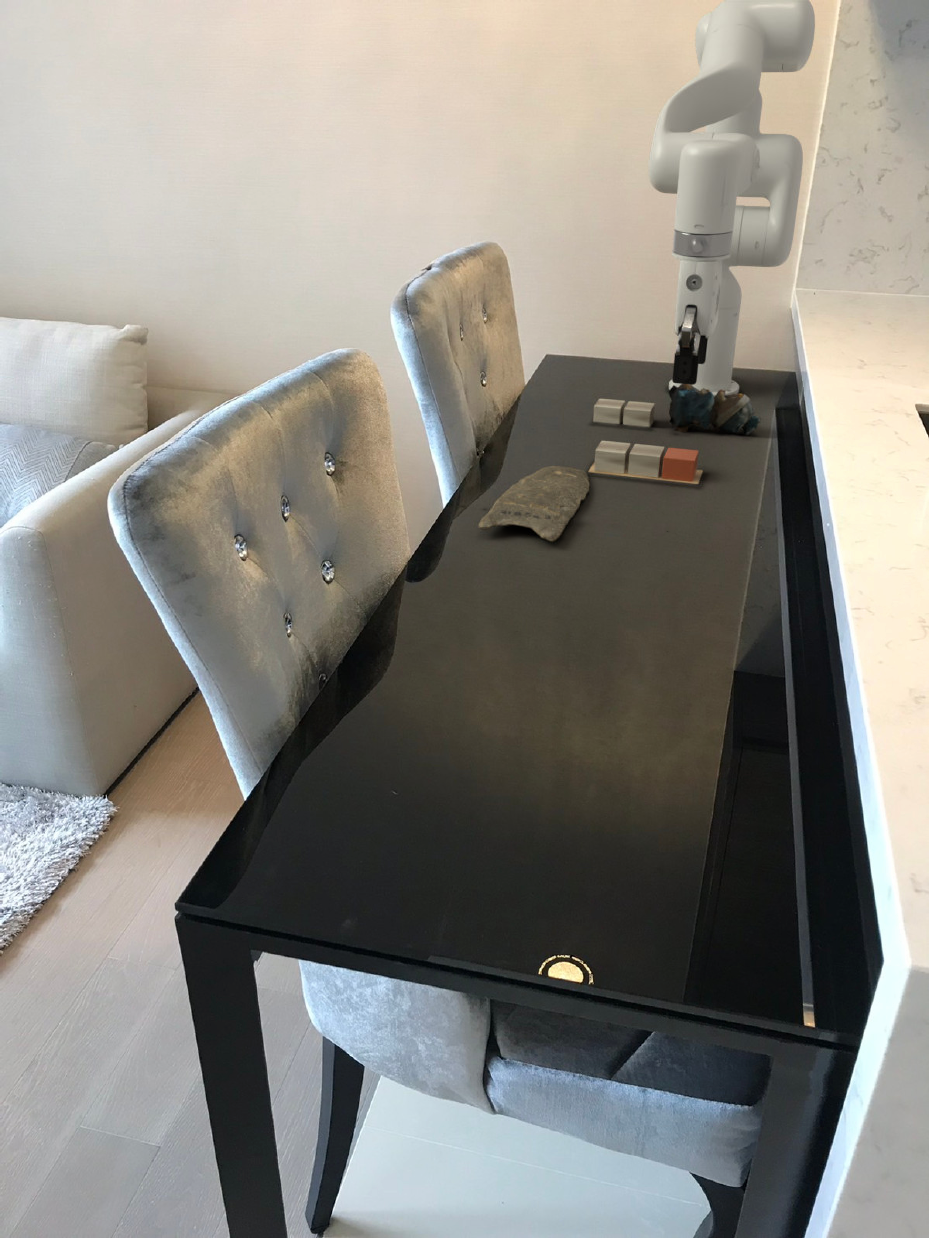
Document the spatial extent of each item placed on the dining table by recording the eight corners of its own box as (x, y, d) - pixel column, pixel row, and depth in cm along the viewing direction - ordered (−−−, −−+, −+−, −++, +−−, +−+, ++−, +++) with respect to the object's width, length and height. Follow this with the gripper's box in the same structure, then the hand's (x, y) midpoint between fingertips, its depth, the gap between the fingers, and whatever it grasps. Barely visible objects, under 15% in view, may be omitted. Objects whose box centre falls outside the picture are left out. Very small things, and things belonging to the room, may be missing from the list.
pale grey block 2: (627, 419, 169) (628, 401, 168) (653, 421, 168) (655, 403, 167) (622, 427, 166) (623, 408, 164) (649, 430, 165) (650, 411, 163)
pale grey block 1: (600, 460, 151) (601, 440, 149) (629, 463, 150) (630, 443, 148) (594, 470, 147) (595, 450, 146) (623, 474, 146) (625, 453, 144)
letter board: (595, 462, 152) (596, 458, 152) (702, 474, 147) (703, 470, 147) (587, 475, 147) (588, 471, 147) (697, 487, 143) (698, 483, 142)
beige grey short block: (598, 416, 171) (599, 398, 169) (624, 419, 170) (625, 400, 168) (593, 424, 167) (594, 406, 166) (619, 427, 166) (620, 408, 164)
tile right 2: (633, 464, 149) (634, 443, 148) (662, 467, 148) (664, 446, 147) (627, 474, 146) (629, 453, 144) (658, 477, 145) (660, 456, 143)
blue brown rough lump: (675, 382, 167) (767, 382, 161) (672, 433, 169) (763, 434, 163) (661, 382, 160) (756, 382, 153) (658, 434, 162) (753, 436, 155)
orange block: (666, 468, 148) (668, 447, 146) (696, 471, 147) (698, 450, 145) (661, 478, 144) (663, 457, 143) (692, 481, 143) (694, 460, 141)
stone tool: (558, 550, 125) (601, 480, 146) (558, 529, 124) (602, 461, 144) (475, 539, 128) (529, 472, 149) (475, 518, 127) (529, 454, 147)
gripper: (724, 259, 123) (708, 394, 132) (737, 234, 137) (723, 357, 146) (662, 256, 125) (652, 389, 134) (682, 231, 139) (671, 354, 148)
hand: (689, 372), depth 140 cm, fingers open, 9 cm apart
